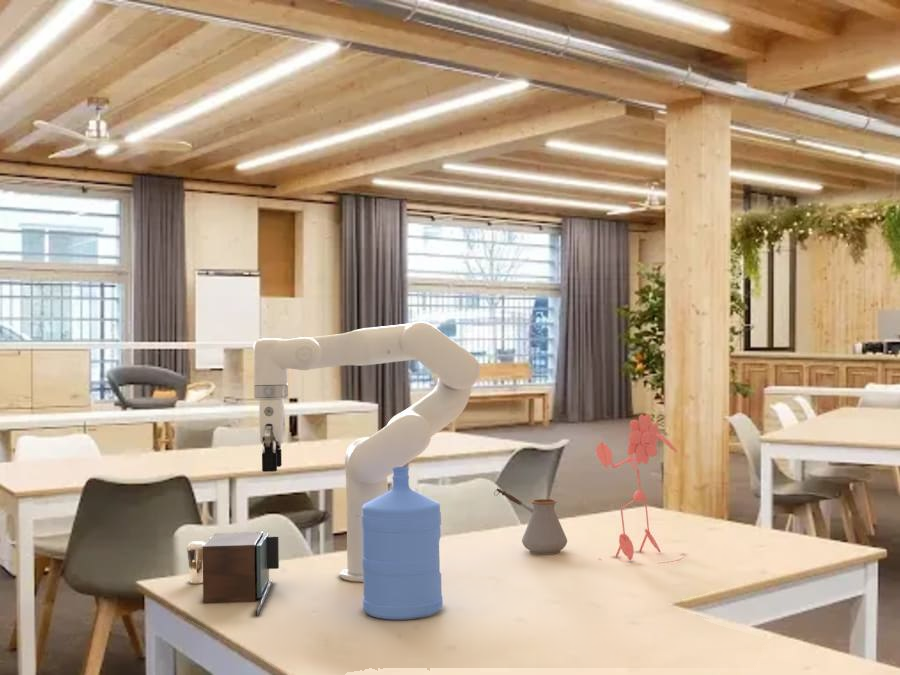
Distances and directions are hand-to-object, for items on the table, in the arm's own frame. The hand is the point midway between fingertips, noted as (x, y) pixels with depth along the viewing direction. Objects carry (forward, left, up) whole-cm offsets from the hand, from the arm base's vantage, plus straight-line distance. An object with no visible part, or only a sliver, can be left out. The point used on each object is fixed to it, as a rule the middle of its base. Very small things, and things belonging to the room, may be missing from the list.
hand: (272, 469), depth 223 cm
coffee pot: (-62, -27, -25) cm, 72 cm away
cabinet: (+6, +16, -25) cm, 31 cm away
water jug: (-28, +30, -25) cm, 49 cm away
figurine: (-89, -11, -25) cm, 93 cm away
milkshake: (+17, -2, -25) cm, 30 cm away
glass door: (0, +10, -25) cm, 27 cm away
